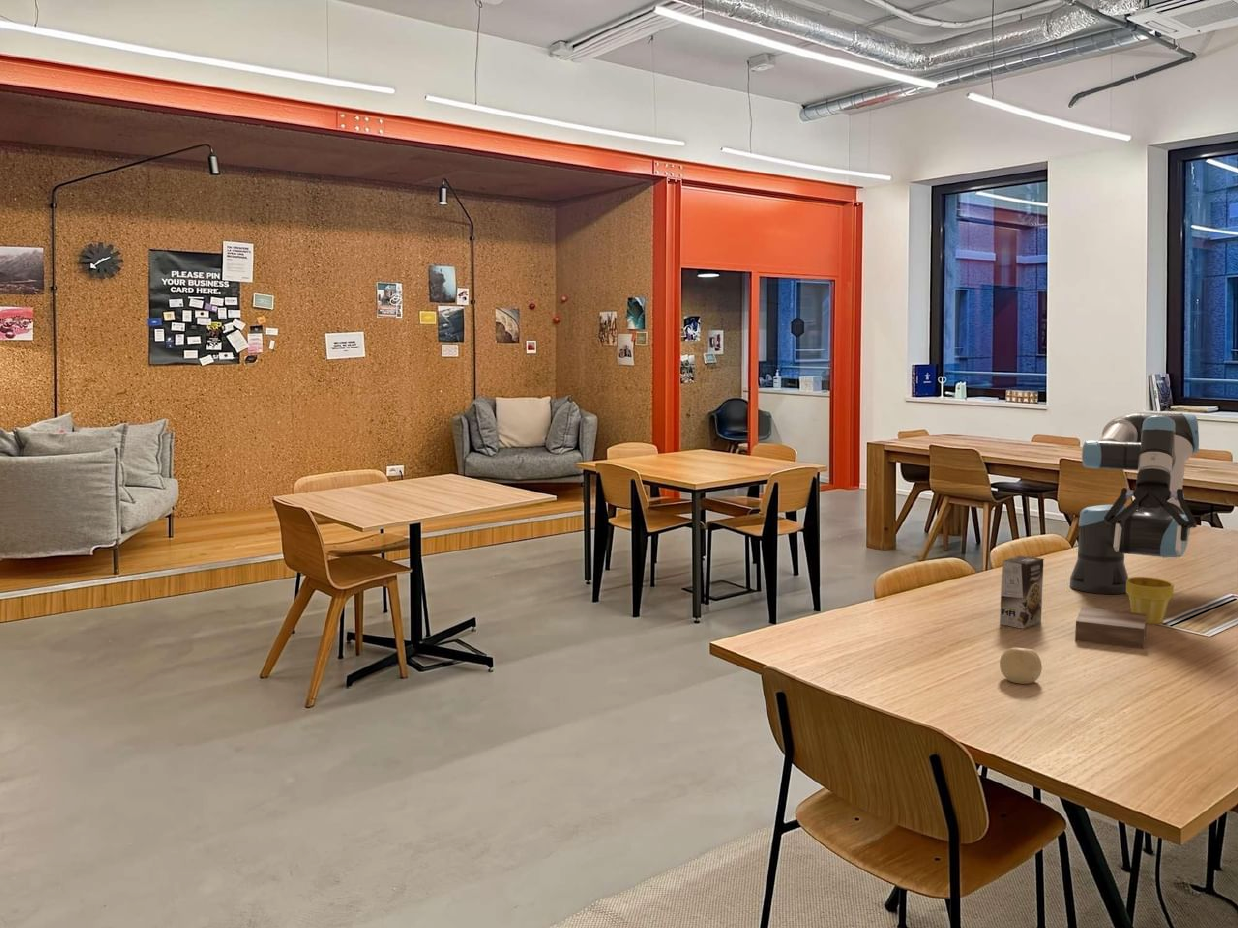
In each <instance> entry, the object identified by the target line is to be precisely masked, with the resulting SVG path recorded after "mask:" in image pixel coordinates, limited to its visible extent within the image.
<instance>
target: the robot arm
mask: <svg viewBox="0 0 1238 928" xmlns="http://www.w3.org/2000/svg"><path fill="white" fill-rule="evenodd" d="M1198 421H1199V420H1198V418H1197V416H1196V415H1195V414H1191V413H1183V412H1179V413H1169V412H1164V413H1163V412H1162V413H1161V412H1159V413H1158V412H1133V413H1128V414H1125V415H1121V416H1118V417H1115V418H1114V419H1111V420H1110V421H1109V422H1108V423H1106V425H1105V426H1104V427H1103V429H1102V432H1101V437H1100V438H1099V440H1096V439H1094V440H1086V441H1084V443H1083V446H1082V452H1081V453H1082V454H1081V460H1082V461H1081V462H1082V466H1083V467H1085V468H1090V469H1095V470H1099V469H1103V470H1125V471H1137V475H1136V483H1135V489H1134V490H1131V489H1130V490H1129V489H1128V488H1126V487H1123V488H1122V489H1121V490H1120V495H1119V496H1118V498H1117V499H1116V500H1115V502H1114V503H1113V504H1098V505H1092V506H1087V507H1084V508H1083V509H1082V510H1081V511H1080V512H1079V521H1078V524H1077V526H1078V543H1077V559H1076V562H1075V565H1074V567H1073V569H1072V572H1071V575H1070V576H1069V587H1071V588H1072V589H1074V590H1078V591H1080V592H1081V591H1082V592H1086V593H1092V594H1102V595H1121V594H1127V593H1126V581H1127V579H1129V576H1128V572H1127V569H1126V565H1125V554H1128V555H1129V554H1131V555H1137V556H1138V555H1139V556H1141V555H1142V556H1151V557H1158V558H1159V557H1160V558H1163V559H1164V558H1176V559H1177V558H1180V557H1181V556H1183V555H1184V553H1185V552H1186V550H1187V546H1188V542H1189V535H1190V532H1191V529H1192V528H1193V529H1194V528H1196V527H1197V526H1198V525H1197V521H1196V519H1195V517H1194V515H1193V513H1192V512H1191V509H1190V508H1189V506H1188V504H1187V502H1186V500H1185V494H1184V491H1183V483H1184V476H1185V467H1186V462H1187V461H1188V460H1190V458H1191V457H1192V455H1194V454H1197V453H1199V451H1200V435H1199V422H1198ZM1132 497H1134V499H1133V500H1132V501H1131V503H1130V504H1128V505H1127V506H1126V505H1125V504H1126V503H1127V501H1128V500H1130V499H1131V498H1132Z"/></svg>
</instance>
